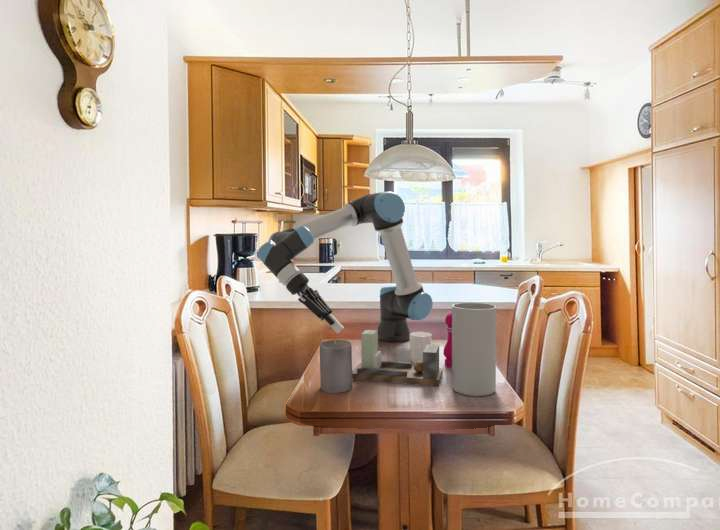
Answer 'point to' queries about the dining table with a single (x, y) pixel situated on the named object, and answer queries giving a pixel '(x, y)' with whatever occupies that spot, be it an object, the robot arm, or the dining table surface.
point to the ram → (370, 349)
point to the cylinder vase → (474, 348)
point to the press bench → (405, 370)
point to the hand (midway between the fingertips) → (340, 330)
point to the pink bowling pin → (448, 341)
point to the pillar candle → (336, 366)
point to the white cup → (418, 344)
